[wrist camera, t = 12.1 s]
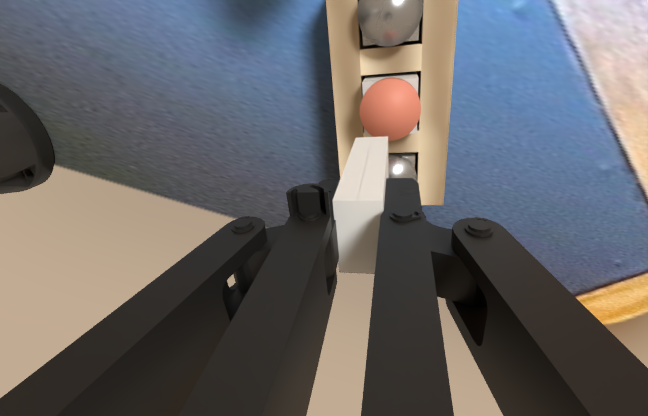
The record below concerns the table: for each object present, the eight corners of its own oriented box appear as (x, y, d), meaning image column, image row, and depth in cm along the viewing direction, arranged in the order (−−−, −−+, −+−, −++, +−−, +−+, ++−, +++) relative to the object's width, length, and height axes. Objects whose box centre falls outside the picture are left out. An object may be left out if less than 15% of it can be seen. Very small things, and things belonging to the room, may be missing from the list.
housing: (348, 185, 39) (342, 204, 35) (334, -19, 30) (323, -26, 26) (438, 184, 37) (443, 205, 33) (452, -35, 28) (461, -46, 24)
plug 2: (370, 181, 38) (366, 206, 33) (368, 140, 36) (363, 159, 31) (414, 181, 37) (416, 206, 32) (415, 138, 35) (418, 158, 30)
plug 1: (365, 45, 32) (358, 49, 27) (363, -15, 30) (355, -24, 24) (418, 40, 31) (421, 43, 26) (420, -23, 28) (424, -34, 23)
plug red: (366, 124, 33) (360, 141, 28) (364, 72, 31) (357, 82, 26) (416, 121, 32) (419, 139, 27) (418, 68, 30) (422, 77, 25)
